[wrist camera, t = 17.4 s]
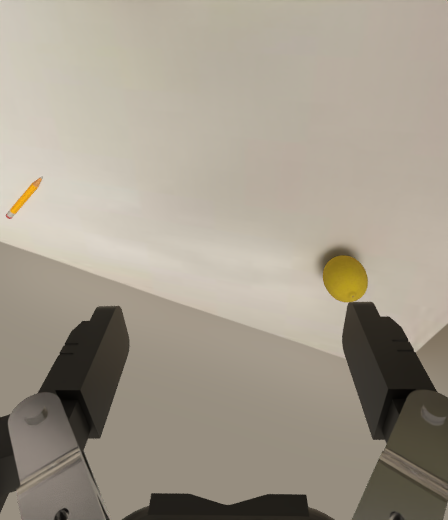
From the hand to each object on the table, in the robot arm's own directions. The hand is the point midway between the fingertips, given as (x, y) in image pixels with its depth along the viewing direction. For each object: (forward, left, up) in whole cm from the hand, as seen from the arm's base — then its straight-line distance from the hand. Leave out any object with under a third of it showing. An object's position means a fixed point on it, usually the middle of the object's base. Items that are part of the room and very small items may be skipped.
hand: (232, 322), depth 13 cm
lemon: (-14, +20, -34) cm, 42 cm away
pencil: (+28, +9, -35) cm, 45 cm away
